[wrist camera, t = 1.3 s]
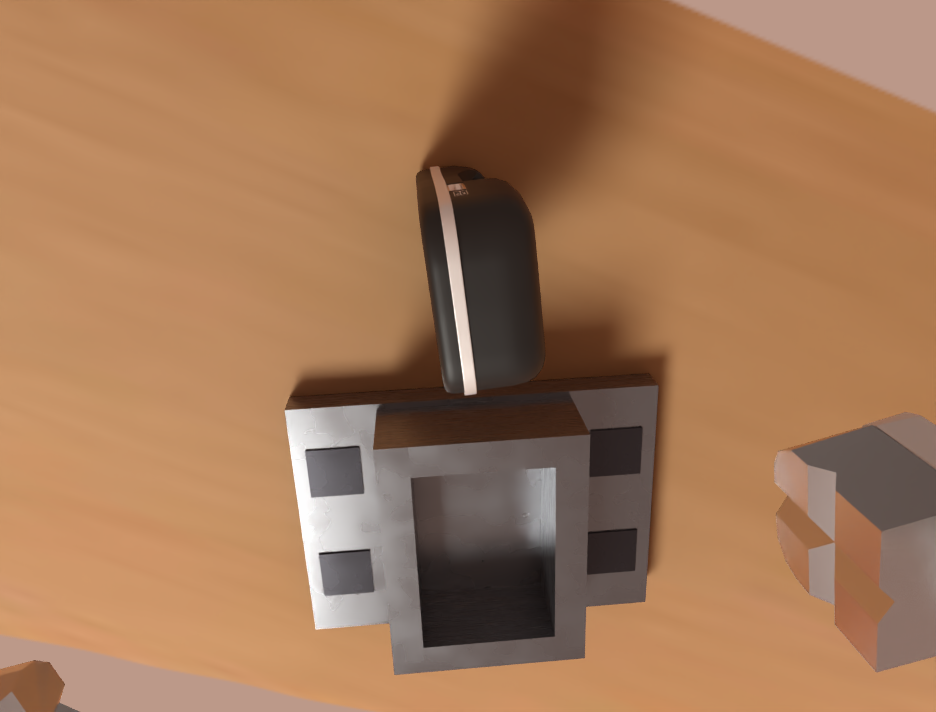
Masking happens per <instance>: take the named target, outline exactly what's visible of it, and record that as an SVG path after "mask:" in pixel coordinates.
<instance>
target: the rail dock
mask: <svg viewBox="0 0 936 712" xmlns="http://www.w3.org/2000/svg"><path fill="white" fill-rule="evenodd" d="M657 402H658V384H657V383H656V382H655V380H654V379H653V378H652V377H651V375H650V374H635V375H620V376H605V377H589V378H574V379H559V380H544V381H529V382H525V383H521V384H517V385H513V386H506V387H499V388H492V389H485V390H478V391H477V394H472V395H465V394H464V393H457V394H452V393H449V392H447V391H446V390H445V388H444V387H437V388H422V389H407V390H392V391H377V392H361V393H346V394H331V395H316V396H300V397H289V400H288V403H287V405H286V408H285V416H286V423H287V430H288V437H289V444H290V451H291V458H292V465H293V472H294V479H295V486H296V493H297V501H298V508H299V515H300V522H301V529H302V536H303V543H304V550H305V557H306V564H307V571H308V578H309V585H310V592H311V599H312V606H313V613H314V620H315V627H316V629H327V628H339V627H351V626H362V625H374V624H386V623H390V633H391V644H392V654H393V665H394V675H399V674H410V673H421V672H433V671H444V670H455V669H467V668H478V667H489V666H501V665H512V664H523V663H535V662H546V661H557V660H569V659H580V658H585V625H586V607H588V606H600V605H612V604H624V603H636V602H645V598H646V582H647V565H648V549H649V533H650V516H651V500H652V484H653V467H654V451H655V435H656V418H657Z"/></svg>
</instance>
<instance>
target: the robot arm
mask: <svg viewBox="0 0 936 712" xmlns="http://www.w3.org/2000/svg"><path fill="white" fill-rule="evenodd" d="M774 472H775V483H776V484H777V485H778V486H779V487H780V488H781V489H782V490H783V491H784V492H785V493H786V494H787V497H786V498H785V500H784V502H783V503H782V505H781V507H780V508H779V510H778V511H777V513H776V521H777V533H778V540H779V543H780V545H781V548H782V551H783V554H784V557H785V560H786V562H787V564H788V566H789V567H790V569H791V571H792V572H793V574H794V576H795V577H796V579H797V580H798V581H799V583H800V584H801V585H802V586H803V587H804V589H805V590H806V591H807V592H808V593H809V595H812V596H814V597H816V598H819V599H821V600H824V601H826V602H829V603H831V604H833V605H835V625H836V626H837V628H838V629H839V630H840V631H841V632H842V633H843V634H844V636H845V637H846V638H847V639H848V640H849V641H850V643H851V644H852V645H853V646H854V647H855V648H856V650H857V651H858V652H859V653H860V654H861V655H862V656H863V658H864V659H865V660H866V661H867V662H868V663H869V665H870V666H871V667H872V668H873V669H874V670H875V672H880V671H883V670H887V669H891V668H894V667H898V666H902V665H905V664H909V663H913V662H916V661H920V660H924V659H927V658H931V657H935V656H936V425H935V424H933V423H931V422H930V421H928V420H927V419H925V418H924V417H922V416H920V415H917V414H912V413H907V412H904V413H901V414H898V415H895V416H891V417H888V418H885V419H882V420H878V421H875V422H872V423H869V424H866V425H863V426H862V427H861V428H857V429H853V430H850V431H846V432H843V433H839V434H836V435H832V436H829V437H825V438H822V439H818V440H815V441H812V442H808V443H805V444H801V445H798V446H794V447H791V448H787V449H784V450H780V451H778V454H777V457H776V460H775V463H774ZM64 686H65V684H64V682H63V681H62V679H61V678H60V677H59V675H58V674H57V672H56V671H55V670H54V668H53V667H52V665H51V664H50V663H49V662H43V661H36V660H34V661H30V662H26V663H22V664H18V665H15V666H11V667H7V668H3V669H0V712H79V711H77V710H75V709H72V708H70V707H68V706H66V705H63V704H61V703H60V699H61V696H62V693H63V689H64Z"/></svg>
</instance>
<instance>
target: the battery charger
mask: <svg viewBox="0 0 936 712" xmlns="http://www.w3.org/2000/svg"><path fill="white" fill-rule="evenodd" d="M416 185H417V199H418V211H419V220H420V228H421V235H422V243H423V250H424V257H425V263H426V270H427V277H428V284H429V291H430V298H431V305H432V311H433V318H434V325H435V332H436V339H437V345H438V352H439V359H440V366H441V373H442V379H443V385H444V388H445V390H446V391H447V392H449V393H452V394H457V393H464V394H465V395H472V394H477V391H478V390H485V389H492V388H499V387H506V386H513V385H517V384H521V383H525V382H528V381H530V380H531V379H533V378H534V377H536V376H537V375H538V373H539V372H540V371H541V369H542V367H543V364H544V360H545V341H544V330H543V318H542V306H541V295H540V284H539V273H538V262H537V251H536V240H535V230H534V224H533V219H532V216H531V213H530V211H529V209H528V207H527V206H526V204H525V202H524V200H523V198H522V197H521V195H520V194H519V192H518V191H517V190H515V189H514V188H513V187H512V186H510V185H509V184H508V183H507V182H506V181H503V180H499V179H495V178H494V179H485V178H484V177H483V175H482V174H481V173H480V172H478V171H477V170H475V169H471V168H468V167H458V166H450V167H442V168H439V166H434V167H430V169H427V170H422V171H420V172H418V173H417V176H416Z"/></svg>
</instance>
